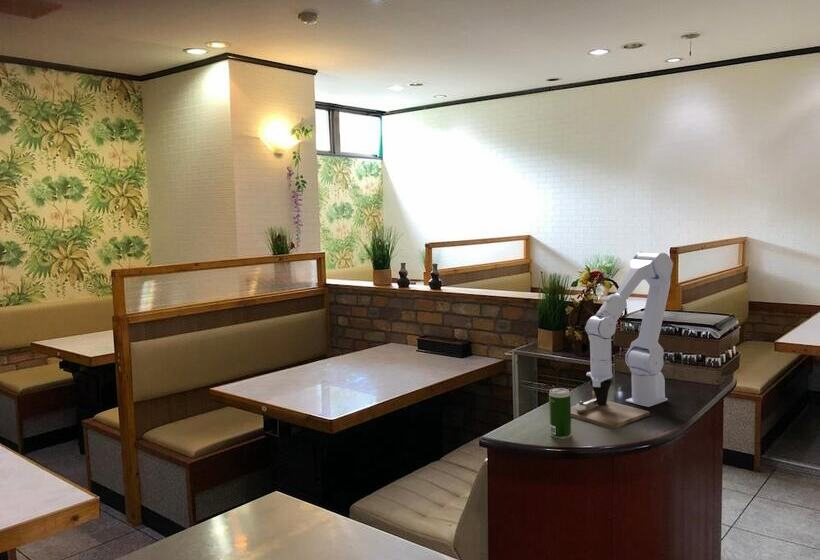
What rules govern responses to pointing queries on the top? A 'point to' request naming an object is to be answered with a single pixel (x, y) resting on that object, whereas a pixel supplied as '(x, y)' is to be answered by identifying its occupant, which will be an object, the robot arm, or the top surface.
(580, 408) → the steel link
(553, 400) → the beer can
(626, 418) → the board
